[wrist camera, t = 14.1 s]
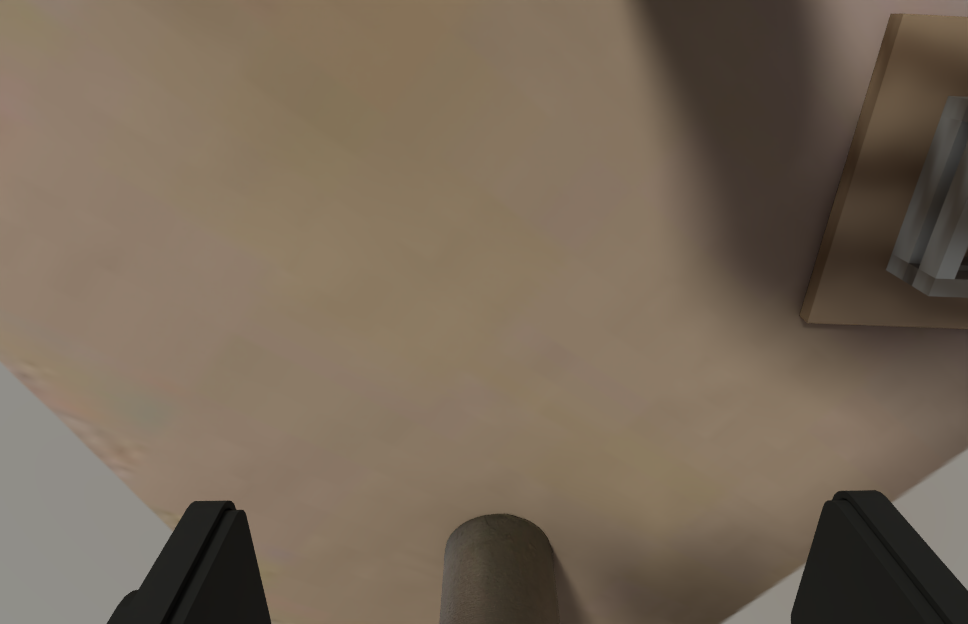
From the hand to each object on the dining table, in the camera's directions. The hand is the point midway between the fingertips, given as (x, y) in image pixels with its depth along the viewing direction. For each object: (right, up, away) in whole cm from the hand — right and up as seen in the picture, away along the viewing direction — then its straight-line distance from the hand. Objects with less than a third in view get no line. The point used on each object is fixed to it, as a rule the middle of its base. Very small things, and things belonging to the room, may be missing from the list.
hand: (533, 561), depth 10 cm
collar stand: (+33, +12, +31) cm, 47 cm away
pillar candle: (0, -18, +45) cm, 49 cm away
